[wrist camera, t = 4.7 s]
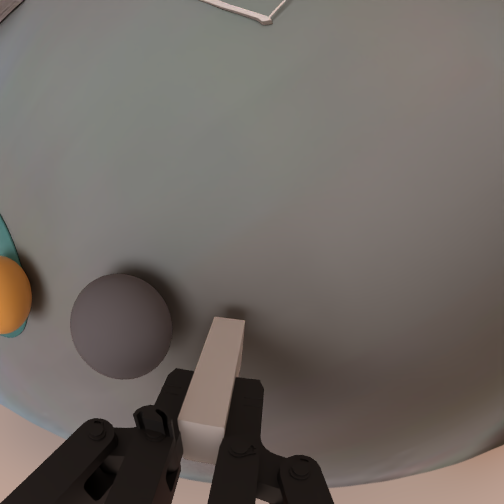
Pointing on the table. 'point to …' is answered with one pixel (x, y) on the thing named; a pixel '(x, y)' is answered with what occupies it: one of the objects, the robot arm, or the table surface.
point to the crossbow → (243, 11)
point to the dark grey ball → (121, 326)
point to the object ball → (13, 295)
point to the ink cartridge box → (7, 7)
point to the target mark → (4, 246)
